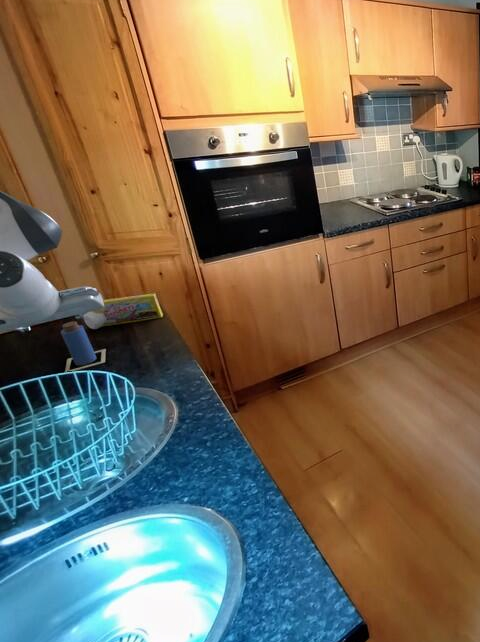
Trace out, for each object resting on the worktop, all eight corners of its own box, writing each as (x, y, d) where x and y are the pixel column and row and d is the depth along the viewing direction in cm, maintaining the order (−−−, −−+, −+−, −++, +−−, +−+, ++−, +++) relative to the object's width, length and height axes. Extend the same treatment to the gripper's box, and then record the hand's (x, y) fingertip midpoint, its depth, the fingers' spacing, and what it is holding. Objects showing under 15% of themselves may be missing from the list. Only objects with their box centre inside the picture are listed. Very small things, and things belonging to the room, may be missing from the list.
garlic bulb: (119, 321, 141) (113, 306, 139) (98, 331, 136) (91, 315, 134) (108, 319, 143) (101, 303, 140) (86, 328, 137) (79, 312, 135)
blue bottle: (74, 367, 119) (57, 330, 115) (76, 360, 123) (58, 323, 118) (96, 361, 122) (80, 324, 117) (97, 354, 125) (81, 318, 120)
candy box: (98, 328, 138) (88, 304, 135) (101, 324, 140) (91, 301, 136) (161, 318, 144) (153, 295, 140) (163, 315, 145) (155, 292, 142)
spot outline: (65, 373, 117) (64, 372, 117) (67, 359, 123) (67, 358, 123) (104, 362, 122) (104, 361, 122) (105, 349, 127) (105, 348, 127)
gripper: (91, 274, 102) (108, 297, 113) (-43, 300, 90) (-10, 323, 101) (98, 299, 100) (114, 320, 111) (-38, 328, 89) (-5, 348, 99)
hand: (54, 321), depth 106 cm, fingers open, 8 cm apart
